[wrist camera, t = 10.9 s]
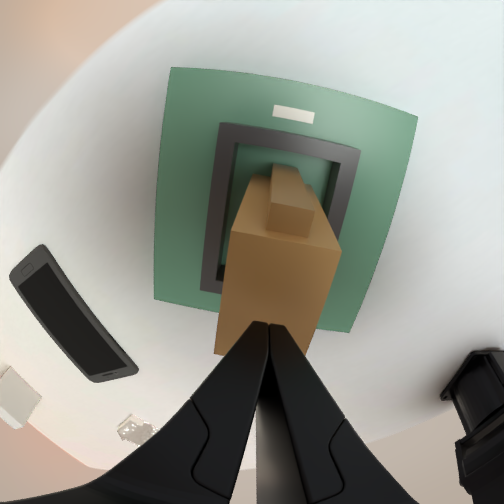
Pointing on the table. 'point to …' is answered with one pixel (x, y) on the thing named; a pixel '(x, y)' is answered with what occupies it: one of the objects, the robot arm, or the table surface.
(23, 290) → the cell phone
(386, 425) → the table surface
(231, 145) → the board
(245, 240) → the plug
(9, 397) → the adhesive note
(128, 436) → the stamped metal plate
